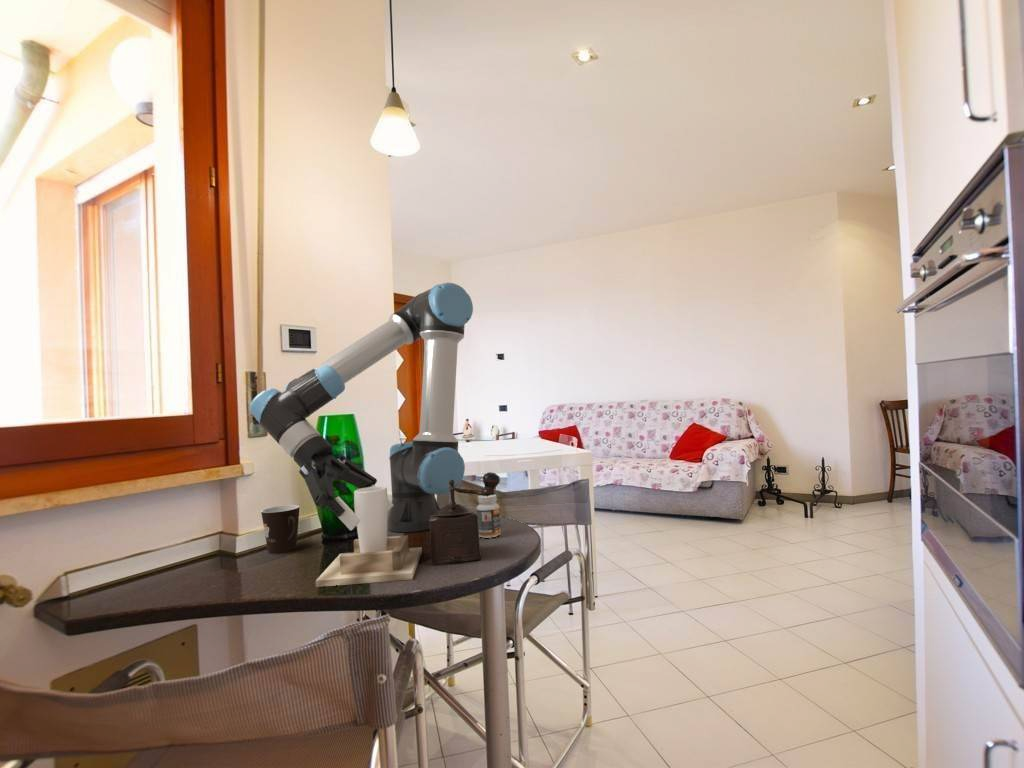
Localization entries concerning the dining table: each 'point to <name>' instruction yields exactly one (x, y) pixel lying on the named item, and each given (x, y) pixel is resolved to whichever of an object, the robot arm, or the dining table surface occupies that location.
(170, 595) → the dining table surface
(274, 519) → the coffee mug
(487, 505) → the pill bottle
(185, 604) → the dining table surface
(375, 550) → the drinking glass
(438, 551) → the manual coffee grinder
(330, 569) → the stand
